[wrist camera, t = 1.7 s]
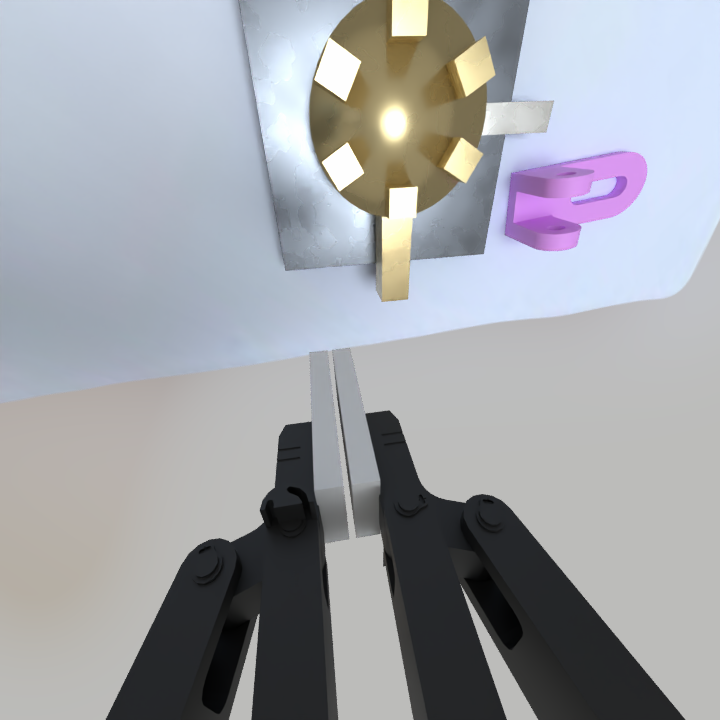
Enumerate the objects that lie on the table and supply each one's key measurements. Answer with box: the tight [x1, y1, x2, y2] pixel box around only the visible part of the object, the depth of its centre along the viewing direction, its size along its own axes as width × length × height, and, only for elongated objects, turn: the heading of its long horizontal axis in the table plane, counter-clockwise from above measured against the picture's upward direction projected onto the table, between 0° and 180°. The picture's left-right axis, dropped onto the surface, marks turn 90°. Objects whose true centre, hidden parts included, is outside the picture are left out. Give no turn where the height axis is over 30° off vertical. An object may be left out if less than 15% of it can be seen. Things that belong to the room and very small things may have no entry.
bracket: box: [505, 152, 647, 251], centre depth 29 cm, size 13×6×7 cm, turn 99°
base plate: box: [239, 0, 554, 271], centre depth 25 cm, size 22×21×3 cm
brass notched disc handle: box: [309, 0, 496, 302], centre depth 24 cm, size 19×12×4 cm, turn 2°
